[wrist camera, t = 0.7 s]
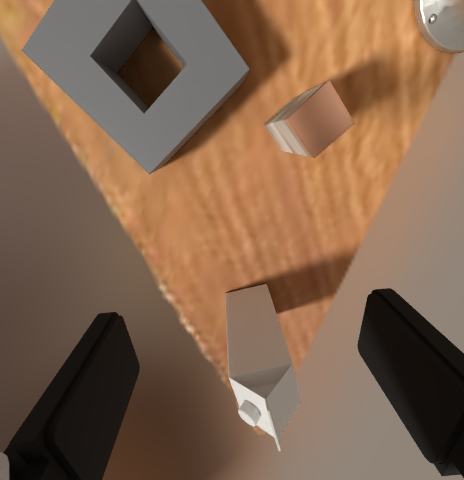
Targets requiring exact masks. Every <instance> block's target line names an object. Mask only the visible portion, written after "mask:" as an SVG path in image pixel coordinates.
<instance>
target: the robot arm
mask: <svg viewBox="0 0 464 480" xmlns="http://www.w3.org/2000/svg"><path fill="white" fill-rule="evenodd" d="M414 9H415V16H416V21H417V24H418V27H419V30H420V32H421V34H422V36H423V37H424V39H425V40H426V41H427V42H428V43H429V44H430V45H431V46H432V47H433V48H435V49H437V50H439V51H441V52H446V53H462V52H464V0H414ZM358 350H359V353H360V355H361V357H362V358H363V360H364V362H365V363H366V365H367V366H368V368H369V369H370V371H371V373H372V374H373V376H374V377H375V379H376V381H377V382H378V384H379V385H380V387H381V389H382V390H383V392H384V393H385V395H386V396H387V398H388V399H389V401H390V403H391V404H392V406H393V408H394V409H395V411H396V412H397V414H398V416H399V417H400V419H401V420H402V422H403V423H404V425H405V427H406V428H407V430H408V431H409V433H410V435H411V436H412V438H413V439H414V441H415V442H416V444H417V446H418V447H419V449H420V450H421V452H422V454H423V455H424V457H425V458H426V459H427V460H428V461H429V462H430V463H433V464H434V465H435V466H436V468H437V469H438V471H439V473H440V474H441V476H448V475H460V474H461V475H462V476H463V478H464V353H462V352H461V351H460V350H459V349H458V348H457V347H456V346H455V345H453V343H451V342H450V341H449V340H448V339H447V338H446V337H445V336H444V335H442V334H441V333H440V332H439V331H438V330H437V329H436V328H435V327H434V326H433V325H431V324H430V323H429V322H428V321H427V320H426V319H425V318H424V317H423V316H422V315H420V314H419V313H418V312H417V311H416V310H415V309H414V308H413V307H412V306H411V305H409V304H408V303H407V302H406V301H405V300H404V299H403V298H402V297H401V296H400V295H398V294H397V293H396V292H395V291H394V290H392V289H390V288H388V289H376V290H373V291H372V293H371V294H369V295H368V297H367V302H366V307H365V312H364V316H363V321H362V326H361V331H360V335H359V340H358ZM138 374H139V362H138V359H137V356H136V353H135V350H134V348H133V345H132V342H131V339H130V336H129V333H128V331H127V328H126V325H125V322H124V319H123V317H122V316H119V315H118V313H116V312H110V313H100V314H98V315H97V317H96V318H95V319H94V321H93V322H92V324H91V325H90V327H89V328H88V329H87V331H86V332H85V334H84V335H83V337H82V338H81V340H80V341H79V343H78V344H77V346H76V347H75V348H74V350H73V351H72V353H71V354H70V356H69V357H68V359H67V360H66V361H65V363H64V364H63V366H62V367H61V369H60V370H59V372H58V373H57V375H56V376H55V377H54V379H53V380H52V382H51V383H50V385H49V386H48V388H47V389H46V390H45V392H44V393H43V395H42V396H41V398H40V399H39V401H38V402H37V404H36V405H35V406H34V408H33V410H32V411H31V412H30V414H29V415H28V417H27V418H26V420H25V421H24V422H23V424H22V426H21V427H20V428H19V430H18V431H17V433H16V434H15V436H14V437H13V438H12V440H11V441H10V443H9V445H8V447H7V448H6V450H5V451H4V453H2V452H0V480H102V478H103V475H104V472H105V469H106V467H107V463H108V461H109V458H110V455H111V452H112V449H113V446H114V444H115V441H116V438H117V435H118V432H119V429H120V426H121V423H122V420H123V417H124V415H125V412H126V409H127V406H128V403H129V400H130V397H131V395H132V392H133V389H134V385H135V383H136V380H137V377H138Z"/></svg>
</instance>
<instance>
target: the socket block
mask: <svg viewBox="0 0 464 480" xmlns="http://www.w3.org/2000/svg"><path fill="white" fill-rule="evenodd" d="M152 29H154V30H155V31H156V32H157V34H158V35H159V36H160V37H161V39H162V40H163V41H164V42H165V44H166V45H167V46H168V47H169V49H170V50H171V51H172V52H173V54H174V55H175V56H176V57H177V59H178V60H179V61H180V62H181V64H182V65H183V66H184V67H185V68H184V69H183V70H182V71H181V72H180V73H179V74H178V76H177V77H176V78H175V79H174V80H173V81H172V82H171V84H170V85H169V86H168V87H167V88H166V89H165V90H164V92H163V93H162V94H161V95H160V96H159V97H158V99H157V100H156V101H155V102H154V103H153V104H152V105H151V107H150V108H149V107H148V106H147V105H146V104H145V103H144V102H143V101H142V100H141V99H140V98H139V96H138V95H137V94H136V93H135V92H134V91H133V90H132V89H131V88H130V87H129V86H128V84H127V83H126V82H125V81H124V80H123V79H122V78H121V77H120V76H119V75H118V74H117V73H118V72H119V70H120V69H121V68H122V66H123V65H124V64H125V63H126V61H127V60H128V59H129V58H130V56H131V55H132V54H133V53H134V51H135V50H136V49H137V48H138V46H139V45H140V44H141V42H142V41H143V40H144V39H145V37H146V36H147V35H148V34H149V32H150V31H151V30H152ZM22 51H23V52H24V53H25V54H26V55H27V56H28V57H29V58H30V59H31V60H32V61H33V62H34V63H35V64H36V65H37V66H38V67H39V68H40V69H41V70H42V71H43V72H44V73H45V74H46V75H47V76H48V77H50V78H51V79H52V80H53V81H54V82H55V83H56V84H57V85H58V86H59V87H60V88H61V89H62V90H63V91H64V92H65V93H66V94H67V95H68V96H69V97H70V98H71V99H72V100H73V101H74V102H75V103H76V104H77V105H78V106H79V107H80V108H81V109H83V110H84V111H85V112H86V113H87V114H88V115H89V116H90V117H91V118H92V119H93V120H94V121H95V122H96V123H97V124H98V125H99V126H100V127H101V128H102V129H103V130H104V131H105V132H106V133H107V134H108V135H109V136H110V137H111V138H112V139H113V140H114V141H116V142H117V143H118V144H119V145H120V146H121V147H122V148H123V149H124V150H125V151H126V152H127V153H128V154H129V155H130V156H131V157H132V158H133V159H134V160H135V161H136V162H137V163H138V164H139V165H140V166H141V167H142V168H143V169H144V170H145V171H146V172H147V173H149V174H151V173H153V172H154V171H156V170H158V169H160V168H162V167H163V166H164V165H165V164H166V163H167V162H168V161H169V160H170V159H171V158H172V156H173V155H174V154H175V153H176V152H177V151H178V150H179V149H180V148H181V147H182V146H183V145H184V144H185V143H186V142H187V141H188V140H189V139H190V138H191V137H192V136H193V135H194V134H195V133H196V132H197V131H198V129H199V128H200V127H201V126H202V125H203V124H204V123H205V122H206V121H207V120H208V119H209V118H210V117H211V116H212V115H213V114H214V113H215V112H216V111H217V110H218V109H219V108H220V107H221V106H222V105H223V104H224V102H225V101H226V100H227V99H228V98H229V97H230V96H231V95H232V94H233V93H234V92H235V91H236V90H237V89H238V88H239V87H240V86H241V85H242V84H243V83H244V80H245V78H246V76H247V74H248V72H249V67H248V66H247V64H246V63H245V62H244V60H243V59H242V57H241V56H240V55H239V53H238V52H237V50H236V49H235V47H234V46H233V45H232V43H231V42H230V40H229V39H228V37H227V36H226V35H225V33H224V32H223V30H222V29H221V27H220V26H219V25H218V23H217V22H216V20H215V19H214V17H213V16H212V15H211V13H210V12H209V10H208V9H207V8H206V6H205V5H204V3H203V2H202V0H54V1H53V3H52V5H51V6H50V8H49V9H48V11H47V12H46V14H45V15H44V17H43V18H42V20H41V21H40V23H39V24H38V26H37V28H36V29H35V31H34V32H33V34H32V35H31V37H30V38H29V40H28V41H27V43H26V44H25V46H24V48H23V49H22Z"/></svg>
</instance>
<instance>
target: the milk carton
mask: <svg viewBox="0 0 464 480" xmlns="http://www.w3.org/2000/svg"><path fill="white" fill-rule="evenodd" d="M225 301H226V325H227V348H228V371H229V379H230V382H231V385H232V388H233V390H234V393H235V396H236V398H237V401H238V404H239V406H240V408H239V410H238V412H239V414H240V416H241V418H242V419H243V420H244V421H245V422H247V423H248V424H249V425H251V426H256V425H257V426H259V427H260V428H262V429H263V430H264V431H266V432H267V433H269V434H270V435H272V436H273V437H274V438H275V441H276V444H277V447H278V450H279V451H281V450H280V446H279V440H278V438H279V437H280V435H281V433H282V432H283V430H284V429H285V427H286V426H287V424H288V422H289V421H290V420H291V418H292V416H293V415H294V413H295V412H296V410H297V409H298V407H299V405H300V403H301V402H300V397H299V391H298V386H297V381H296V376H295V370H294V366H293V362H292V359H291V356H290V353H289V350H288V347H287V344H286V341H285V338H284V335H283V332H282V329H281V326H280V323H279V320H278V317H277V314H276V311H275V308H274V304H273V301H272V298H271V295H270V292H269V289H268V286H267V284H263V285H259V286H255V287H250V288H246V289H242V290H238V291H233V292H229V293H225Z"/></svg>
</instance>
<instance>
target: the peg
mask: <svg viewBox="0 0 464 480" xmlns="http://www.w3.org/2000/svg"><path fill="white" fill-rule="evenodd" d="M354 124H355V123H354V121H353V120H352V118H351V116H350V114H349V113H348V111H347V109H346V108H345V106H344V104H343V102H342V101H341V99H340V97H339V96H338V94H337V92H336V91H335V89H334V87H333V85H332V84H331V82H330V80H328V81H326V82H324V83H323V84H321V85H319V86H317V87H315V88H313V89H311V90H309V91H307V92H305V93H303V94H301V95H299V96H297V97H295V98H293V99H291V100H289V101H288V102H287V103H286V104H285V105H284V106H283V107H282V108H281V109H280V110H279V111H278V112H277V113H276V114H275V115H274V116H273V117H272V118H271V119H269V120H268V121H267V122H266V123H265V124H264V127H265V128H266V129H267V131H268V132H269V133H270V135H271V136H272V137H273V139H274V140H275V141H276V143H277V144H278V145H279V147H280V148H281V149H282V151H285V152H290V153H294V154H299V155H304V156H308V157H313V158H315V157H316V156H318V155H319V154H320V153H321V152H322V151H323V150H325V149H326V148H327V147H328V146H329V145H330V144H332V143H333V142H334V141H335V140H336V139H337V138H339V137H340V136H341V135H342V134H343V133H344V132H346V131H347V130H348V129H349V128H350V127H351V126H353V125H354Z"/></svg>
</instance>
